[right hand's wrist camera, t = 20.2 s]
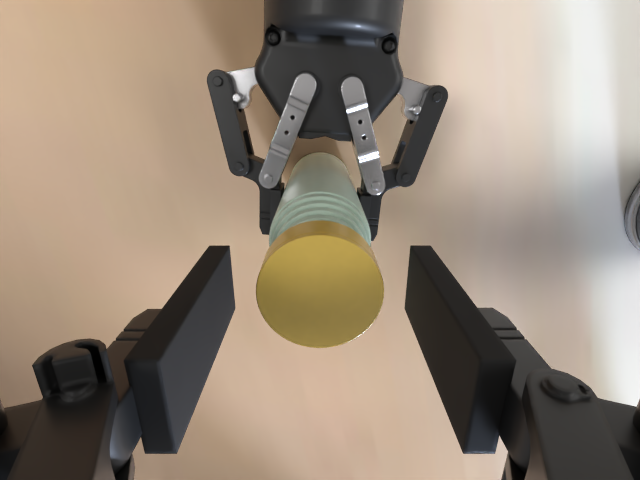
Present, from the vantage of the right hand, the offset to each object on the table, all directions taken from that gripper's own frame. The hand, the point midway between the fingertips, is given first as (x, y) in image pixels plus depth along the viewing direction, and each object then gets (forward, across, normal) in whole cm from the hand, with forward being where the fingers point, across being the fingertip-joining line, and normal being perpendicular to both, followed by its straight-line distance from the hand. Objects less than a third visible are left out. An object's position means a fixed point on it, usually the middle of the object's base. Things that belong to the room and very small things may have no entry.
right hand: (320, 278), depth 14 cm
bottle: (+17, 0, 0) cm, 17 cm away
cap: (-1, 0, 0) cm, 1 cm away
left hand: (+11, 0, -3) cm, 11 cm away
